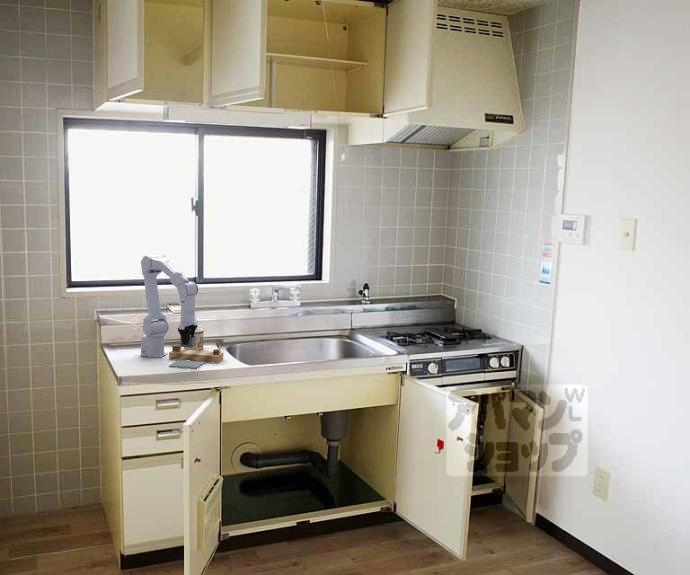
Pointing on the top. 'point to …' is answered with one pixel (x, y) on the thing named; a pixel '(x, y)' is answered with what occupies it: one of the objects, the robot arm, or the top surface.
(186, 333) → the robot arm
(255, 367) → the top surface
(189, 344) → the lever cap
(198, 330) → the teacup with lid
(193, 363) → the slate mat
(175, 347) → the hand plane
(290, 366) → the top surface
